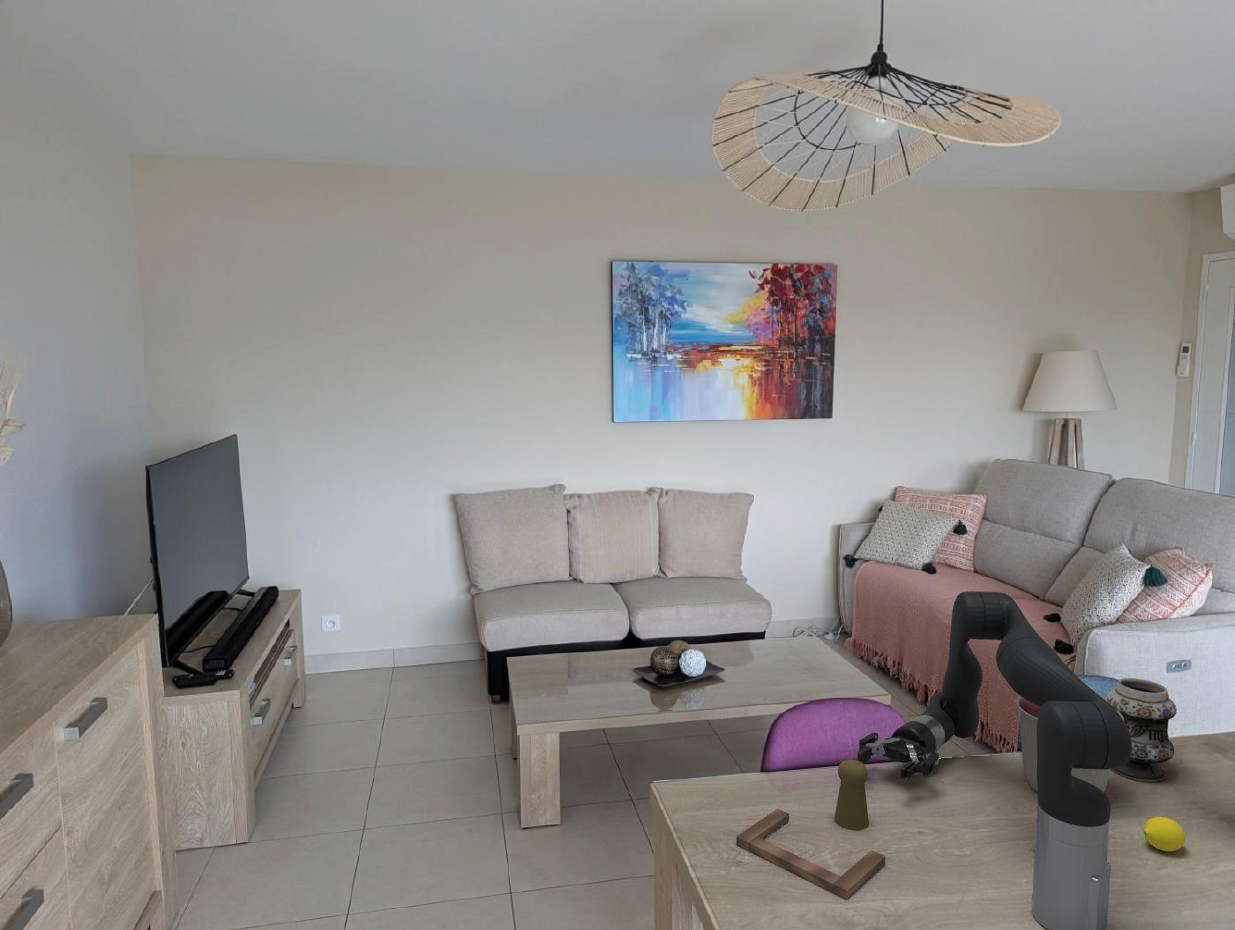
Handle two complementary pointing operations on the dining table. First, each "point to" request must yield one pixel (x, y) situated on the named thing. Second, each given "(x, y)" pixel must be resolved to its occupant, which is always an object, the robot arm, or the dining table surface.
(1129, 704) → the apothecary jar
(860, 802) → the cork
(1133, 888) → the dining table surface
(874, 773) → the dining table surface
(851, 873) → the walnut cradle
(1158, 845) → the lemon
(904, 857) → the dining table surface
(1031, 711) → the canister
